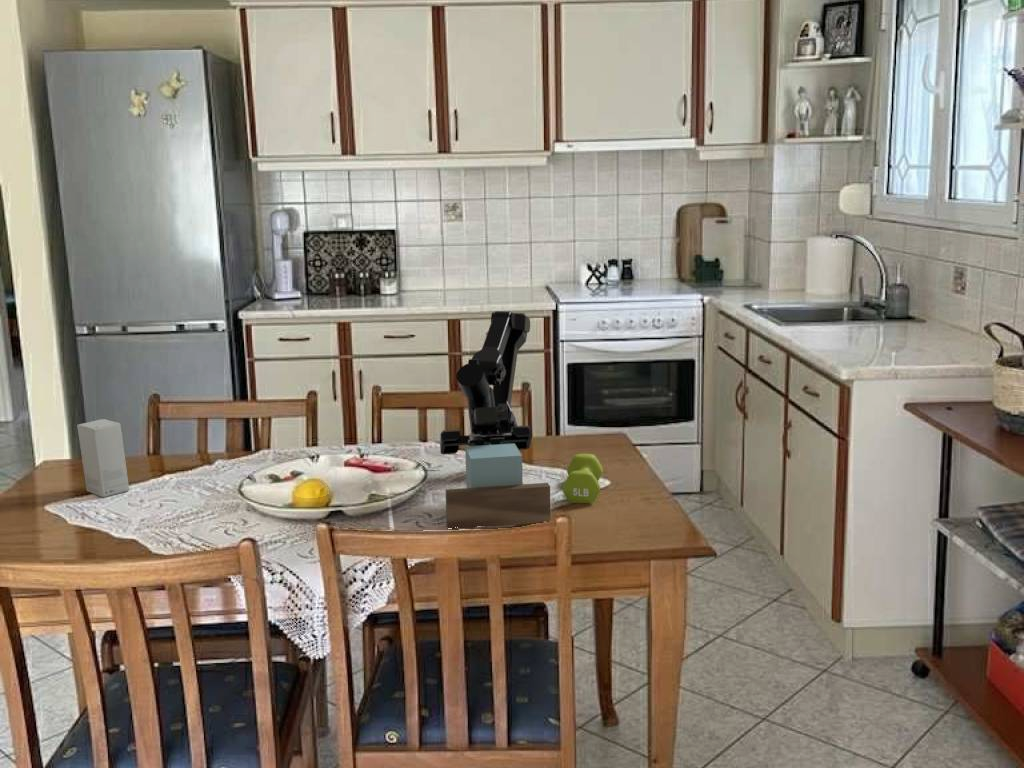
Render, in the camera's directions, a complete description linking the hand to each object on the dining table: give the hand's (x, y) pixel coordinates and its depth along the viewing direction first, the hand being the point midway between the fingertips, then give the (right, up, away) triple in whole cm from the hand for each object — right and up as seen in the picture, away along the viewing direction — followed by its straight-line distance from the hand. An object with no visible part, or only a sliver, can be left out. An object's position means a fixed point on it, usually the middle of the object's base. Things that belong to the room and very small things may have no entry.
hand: (490, 476), depth 201 cm
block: (+1, -7, -3) cm, 8 cm away
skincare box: (-85, -5, +19) cm, 87 cm away
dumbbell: (+20, -5, +10) cm, 23 cm away
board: (+2, -9, -9) cm, 13 cm away
